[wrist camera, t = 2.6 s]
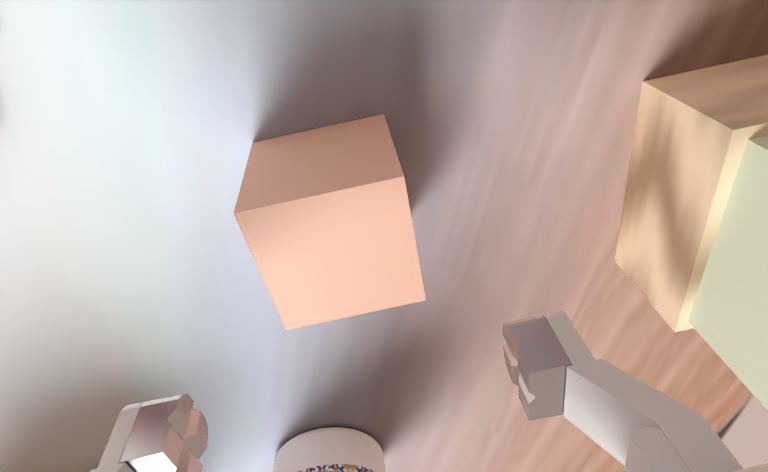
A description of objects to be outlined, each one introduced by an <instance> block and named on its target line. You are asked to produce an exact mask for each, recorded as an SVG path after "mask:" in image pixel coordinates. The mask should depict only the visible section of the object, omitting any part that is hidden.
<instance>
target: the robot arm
mask: <svg viewBox="0 0 768 472" xmlns="http://www.w3.org/2000/svg"><path fill="white" fill-rule="evenodd" d="M503 336H504V338H505V340H506V343H505V345H504V346H503V347H504V357H505V361H506V366H507V369H508V372H509V375H510V377H511V380H512V382H513V383H514V384H516V385H517V386H519V399H520V401H521V403H522V406H523V408H524V410H525V413H526V415H527V417H528V420H529V421H530V420H536V419H541V418H546V417H552V416H557V415H562V414H564V415H563V416H564V417H565V418H566V419H568V420H569V421H570V422H571V423H573V424H574V425H575V426H576V427H578V428H579V429H580V430H581V431H583V432H584V433H585V434H586V435H587V436H589V437H590V438H591V439H592V440H594V441H595V442H596V443H597V444H599V445H600V446H601V447H602V448H604V449H605V450H606V451H607V452H609V453H610V454H611V455H612V456H613V457H615V458H616V459H617V460H618V461H620V462H621V463H622V464H623V465H625V467H624V471H623V472H768V464H763V465H759V466H754V467H750V468H745V469H743V468H742V466H741V465H740V464H739V462H738V461H737V460H736V458H735V457H734V456H733V455H732V453H731V452H730V451H729V449H728V448H727V447H726V446H725V444H724V443H723V442H722V440H721V439H720V438H719V436H718V435H717V434H716V433H715V431H714V430H713V429H712V427H711V426H710V425H709V424H708V422H707V421H706V420H705V418H704V417H703V416H702V415H701V414H700V413H698V412H696V411H694V410H693V409H691V408H689V407H687V406H685V405H684V404H682V403H680V402H678V401H676V400H675V399H673V398H671V397H669V396H667V395H666V394H664V393H662V392H660V391H658V390H657V389H655V388H653V387H651V386H649V385H648V384H646V383H644V382H642V381H640V380H639V379H637V378H635V377H633V376H631V375H630V374H628V373H626V372H624V371H622V370H621V369H619V368H617V367H615V366H613V365H612V364H610V363H608V362H606V361H604V360H603V359H598V360H595V358H594V357H593V355H592V354H591V352H590V351H589V349H588V347H587V346H586V344H585V343H584V341H583V340H582V338H581V336H580V335H579V333H578V332H577V330H576V329H575V327H574V325H573V324H572V322H571V321H570V319H569V318H568V316H567V314H566V313H565V312H563V311H558V312H553V313H549V314H544V315H542V316H541V315H539V316H534V317H530V318H526V319H521V320H517V321H513V322H508V323H504V324H503ZM193 402H194V401H193V400H192V399H191V398H190V396H189V395H188V394H181V395H176V396H171V397H165V398H160V399H155V400H150V401H145V402H140V403H135V404H130V405H126V406H125V407H124V408H123V409H122V410H121V411H120V413H119V416H118V418H117V421H116V423H115V426H114V428H113V431H112V433H111V435H110V438H109V440H108V443H107V445H106V448H105V450H104V453H103V455H102V458H101V460H100V462H99V465H98V467H97V468H96V469H92V470H90V471H89V472H201V470H202V465H201V463H200V461H199V460H198V458H199V457H200V456H201V455H202V453H203V452H204V451H205V449H206V446H207V441H208V427H207V423H206V420H205V417H204V416H203V414H202V413H201V412H200V411H197V410H195V409H193V408H192V406H193Z"/></svg>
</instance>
